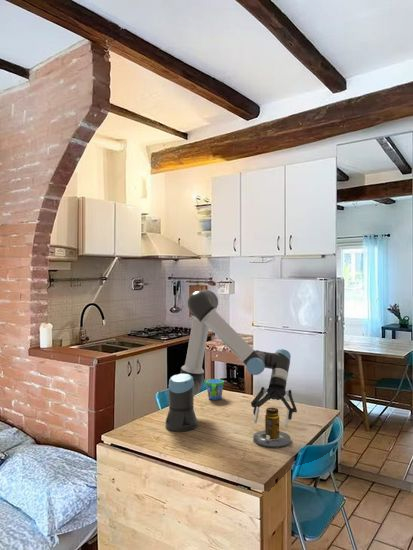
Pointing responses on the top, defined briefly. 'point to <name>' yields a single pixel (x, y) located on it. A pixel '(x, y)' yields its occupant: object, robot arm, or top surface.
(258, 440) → the grey round disc
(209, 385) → the snack cup
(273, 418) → the condiment
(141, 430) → the top surface
